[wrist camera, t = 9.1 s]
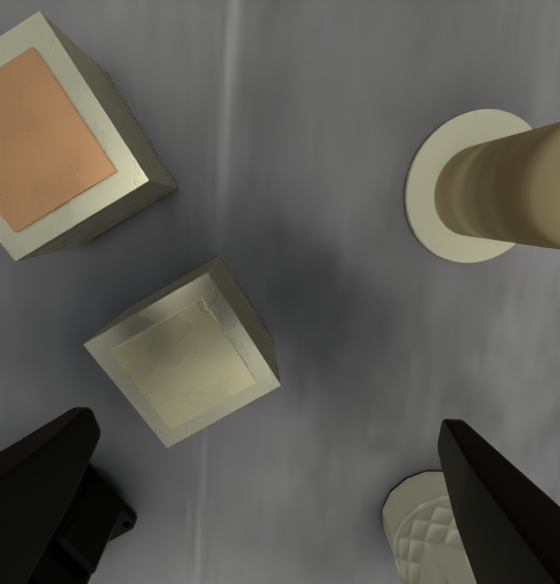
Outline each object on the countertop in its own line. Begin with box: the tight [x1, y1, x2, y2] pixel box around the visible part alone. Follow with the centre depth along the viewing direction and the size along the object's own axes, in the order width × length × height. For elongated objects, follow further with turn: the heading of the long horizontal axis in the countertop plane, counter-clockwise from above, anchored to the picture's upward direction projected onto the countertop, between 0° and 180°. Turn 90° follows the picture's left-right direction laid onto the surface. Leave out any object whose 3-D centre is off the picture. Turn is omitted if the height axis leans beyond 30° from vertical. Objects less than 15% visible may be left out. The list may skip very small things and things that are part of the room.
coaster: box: [404, 109, 532, 263], centre depth 18 cm, size 8×8×1 cm
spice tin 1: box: [0, 11, 178, 261], centre depth 14 cm, size 6×6×5 cm
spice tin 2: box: [83, 255, 281, 448], centre depth 17 cm, size 6×6×5 cm
